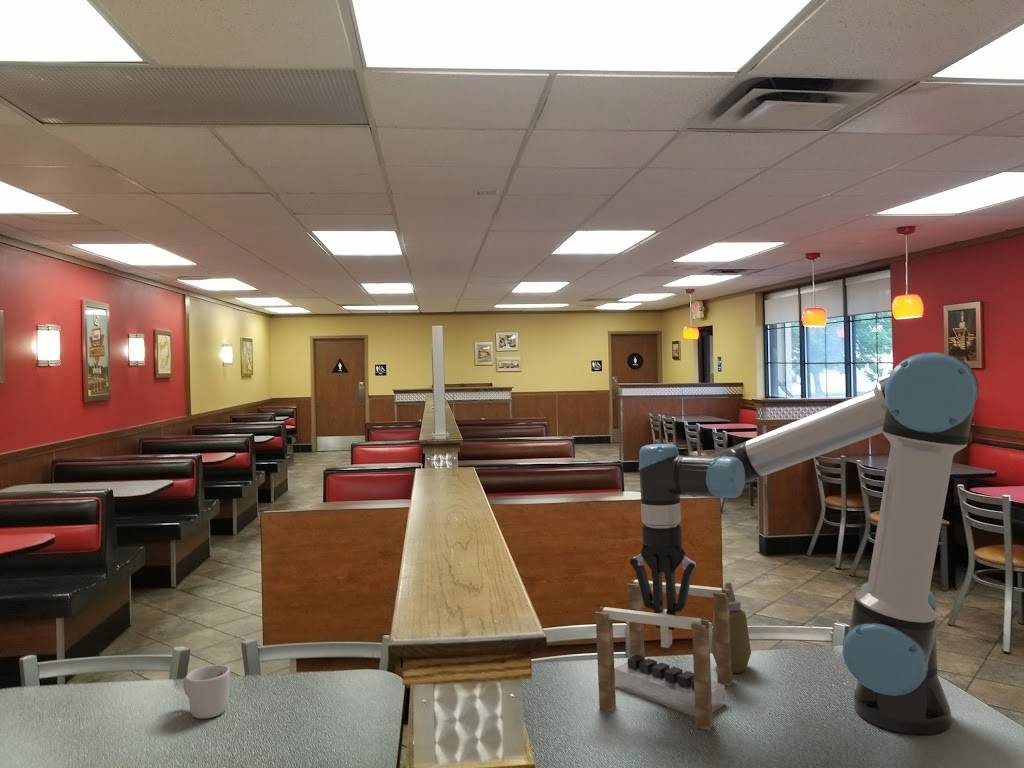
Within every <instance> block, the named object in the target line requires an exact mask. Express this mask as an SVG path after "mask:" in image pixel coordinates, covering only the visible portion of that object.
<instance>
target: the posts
mask: <svg viewBox="0 0 1024 768" xmlns="http://www.w3.org/2000/svg"><path fill="white" fill-rule="evenodd" d="M635 580H636V579H631V580H630V583H626V590H627V610H634V611H642V612H644V605H643V604H644V601H643V597H642V593H641V590H639V586H638V584H633V581H635ZM713 595H714V598H713V602H714V604H713V605H714V610H715V633H716V658H717V664H716V678H717V679H716V682H717V683H720V684H723V685H724V686H731V684H732V682H733V675H732V674H733V673H732V667H731V642H730V616H729V589H724V588H722V593H717V592H714V593H713ZM605 607H606V606H605ZM605 607H604V606H600V607H599V611H595V612H594V620H595V630H596V631H595V632H596V652H597V653H596V654H597V655H596V656H597V657H596V658H597V678H598V681H597V682H598V704H599V705H598V707H599V710H601V711H605V712H606V711H607V712H613V711H614V710H615V708H616V706H617V703H616V702H617V701H616V687H615V671H614V668H615V653H614V651H615V650H614V649H615V648H614V647H615V646H614V629H613V627H614V626H613V625H614V624H613V619H608V613H603V612H602V610H603V609H604V608H605ZM700 619H701V625H700V624H691V629H690V630H691V634H692V637H691V638H692V659H693V660H692V661H693V673H694V689H695V715H696V717H695V728H696V729H701V730H705V731H711V730H712V727H713V724H714V723H713V712H712V694H711V681H712V675H711V674H712V672H711V670H712V669H711V651H710V650H711V646H710V645H711V643H710V619H704V618H703V619H702V618H700ZM644 631H645V629H644V623H636V622H628V634H629V637H628V638H629V656H630V657H632V656H635V655H640V656H643V657H646V656H645V633H644ZM630 657H629V658H630Z"/></svg>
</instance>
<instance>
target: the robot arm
mask: <svg viewBox="0 0 1024 768" xmlns="http://www.w3.org/2000/svg"><path fill="white" fill-rule="evenodd" d="M979 389H980V387H979V383H978V378H977V376H976V375H975V372H974V371H973V369H972V368H971V367H970V365H968V364H967V363H966V362H965V361H964V360H962V359H960V358H958V357H956V356H954V355H951V354H947V353H941V352H937V351H936V352H928V351H927V352H921V353H918V354H914V355H911V356H909V357H907V358H905V359H904V360H902V361H901V362H900V363H898V364H897V365H896V366H895V367H894V369H893V370H892V371H891V372H890V374H889V376H888V377H886V378H883V379H881V380H879V381H877V383H876V384H875V387H874V388H873V389H871V390H869V391H867V392H866V391H865V392H864V393H862V394H861V393H860V394H859V395H857V396H854V397H852V398H850V399H847V400H844V401H842V402H840V403H837V404H834V405H832V406H830V407H827V408H825V409H822V410H819V411H817V412H815V413H812V414H810V415H807V416H805V417H802V418H800V419H798V420H795V421H792V422H790V423H788V424H785V425H783V426H781V427H778V428H776V429H773V430H770V431H768V432H765V433H763V434H760V435H758V436H755V437H753V438H751V439H749V440H746V441H743V442H741V443H738V444H736V445H733V446H730V447H728V448H726V449H724V450H720V451H718V452H714V453H712V454H708V455H682V454H680V453H679V449H678V447H677V445H675V444H671V443H670V444H669V443H655V444H654V443H651V444H646V445H644V446H641V448H639V452H638V455H639V458H638V462H639V463H638V466H639V467H638V471H639V487H640V511H641V513H640V514H641V515H640V516H641V522H642V523H643V525H642V526H641V533H642V534H641V536H642V537H641V538H642V548H641V550H640V553H639V554H638V555H634V556H633V557H632V558H631V559H630V560H629V564H630V566H631V567H632V568H633V570H634V571H635V575H636V578H637V579H636V580H638V582H639V586H640V590H641V593H642V602H643V604H644V607H645V608H647V609H650V610H653V611H654V612H653V613H659V614H667V615H675V616H677V612H682V611H683V610H684V609H685V607H686V605H687V601H688V600H687V599H688V596H689V595H688V590H689V585H691V581H692V577H693V575H692V574H693V572H694V570H695V568H696V567H697V565H698V562H697V561H696V560H695V559H694V560H693V559H692V560H691V559H690V558H689V557H687V556H686V552H685V550H684V549H683V536H682V531H683V530H682V526H681V525H680V523H681V522H682V515H681V514H682V513H681V510H682V509H681V496H691V497H692V496H695V497H707V498H709V497H710V498H717V499H724V498H726V499H727V498H729V499H730V498H731V499H732V498H735V499H736V498H738V497H740V495H741V494H742V493H743V491H744V488H745V484H746V483H749V482H752V481H755V480H757V479H760V478H761V477H764V476H767V475H770V474H772V473H775V472H779V471H782V470H784V469H786V468H789V467H792V466H795V465H797V464H799V463H803V462H806V461H808V460H811V459H813V458H816V457H819V456H821V455H825V454H827V453H828V454H829V453H830V452H833V451H836V450H838V449H841V448H844V447H847V446H849V445H852V444H854V443H858V442H859V441H863V440H865V439H869V438H871V437H874V436H876V435H879V434H881V433H882V434H883V435H884V437H885V438H886V440H888V442H889V444H890V447H889V448H890V450H889V455H888V460H887V465H886V467H887V468H886V471H885V472H886V473H885V479H884V485H883V490H882V491H883V492H882V497H881V503H880V509H879V513H878V514H879V515H878V520H877V526H876V532H875V539H874V543H873V551H872V556H871V563H870V567H869V574H868V581H867V582H866V583H864V584H862V585H861V587H860V589H859V590H857V591H856V592H855V595H854V601H853V606H852V612H851V619H850V623H849V629H848V631H847V633H846V634H845V636H844V639H843V642H842V655H843V660H844V663H845V666H846V667H847V669H848V671H849V672H850V673H851V675H852V676H853V677H854V679H855V680H856V681H857V684H856V687H855V690H854V694H853V703H854V704H853V706H854V707H853V709H854V710H855V711H856V712H855V713H857V714H858V716H860V717H861V718H862V719H863V720H866V721H867V722H869V723H871V724H872V725H874V726H876V727H880V728H882V729H884V730H889V731H892V732H897V733H900V734H901V733H902V734H906V735H907V734H908V735H918V736H922V735H924V736H926V735H929V736H930V735H935V734H936V735H937V734H939V733H943V732H945V731H947V730H948V729H950V727H951V726H952V712H951V711H952V710H951V708H950V704H949V701H948V699H947V697H946V694H945V692H944V689H943V686H942V684H941V681H940V679H939V674H938V652H937V651H938V650H937V649H938V648H937V629H936V628H937V626H936V625H937V624H936V623H937V622H936V620H937V613H936V610H937V606H936V601H935V596H934V594H933V592H932V591H930V589H931V583H932V580H933V579H932V578H933V572H934V566H935V560H936V554H937V549H938V544H939V538H940V535H941V534H940V533H941V528H942V522H943V515H944V510H945V505H946V498H947V494H948V488H949V482H950V475H951V471H952V470H951V469H952V465H953V459H954V456H955V455H956V453H958V452H960V451H961V450H963V449H964V448H966V447H968V443H969V437H970V431H971V426H972V419H973V415H974V410H975V405H976V402H977V399H978V396H979ZM645 563H646V564H647V566H648V567H649V569H650V570H651V577H652V581H653V591H651V588H650V585H649V581H650V580H649V578H648V574H647V570H646V568H645ZM681 563H682V564H683V565H682V569H683V573H682V577H681V582H680V584H681V586H680V591H679V594H678V597H677V594H676V589H675V584H676V570H677V569H678V567H679V566H680V564H681ZM663 573H664V580H665V583H666V593H665V594H666V595H665V597H666V598H665V599H666V609H665V608H664V606H665V604H664V596H663V593H664V592H663V588H662V582H663ZM654 626H655V628H656V629H660V647H661V648H666V649H669V648H670V646H672V644H673V631H674V630H675V629H676V628H675V627H667V626H660V625H654Z"/></svg>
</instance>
